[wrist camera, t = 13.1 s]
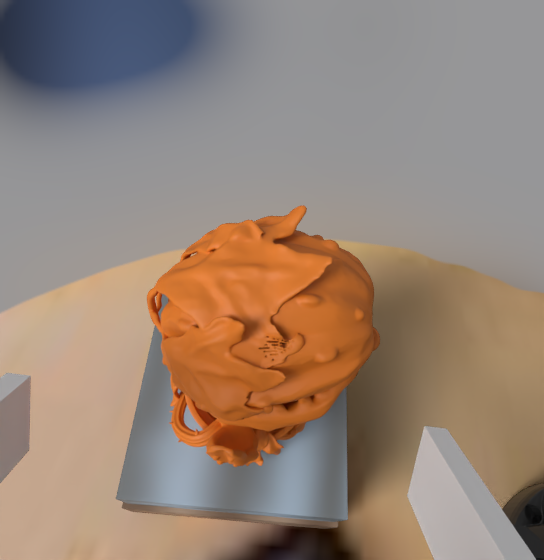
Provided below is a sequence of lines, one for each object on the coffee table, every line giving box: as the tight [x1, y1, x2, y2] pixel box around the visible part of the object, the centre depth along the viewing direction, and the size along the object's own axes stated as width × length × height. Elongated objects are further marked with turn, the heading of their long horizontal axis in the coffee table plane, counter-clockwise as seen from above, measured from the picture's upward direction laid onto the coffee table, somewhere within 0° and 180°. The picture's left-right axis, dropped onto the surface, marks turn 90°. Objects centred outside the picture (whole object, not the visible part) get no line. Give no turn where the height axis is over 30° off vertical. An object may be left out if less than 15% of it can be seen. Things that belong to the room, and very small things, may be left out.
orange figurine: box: [147, 206, 380, 467], centre depth 24 cm, size 11×11×18 cm
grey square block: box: [116, 294, 348, 529], centre depth 35 cm, size 15×15×8 cm
